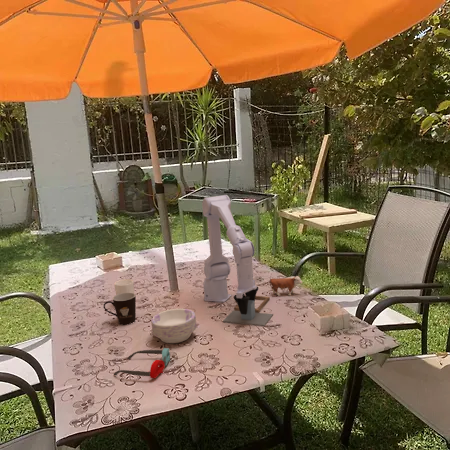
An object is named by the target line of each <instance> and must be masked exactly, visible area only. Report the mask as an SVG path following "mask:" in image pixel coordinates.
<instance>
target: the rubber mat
mask: <svg viewBox="0 0 450 450" xmlns="http://www.w3.org/2000/svg"><path fill="white" fill-rule="evenodd" d="M273 316H274V313H264V312H259V313H256V312H255V317H254V318H253V319H252V320H245V319H241V313H240V311H234V310H232V311H231V312H230V313H229V314H228V315H227V316H226V317H225V318H224V319H223V320H222V322H223V323H229V324H230V323H231V324H237V325H249V326H259V327H266V325H267V324H268V323H269V321H270V320H271V319H272V318H273Z"/></svg>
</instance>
